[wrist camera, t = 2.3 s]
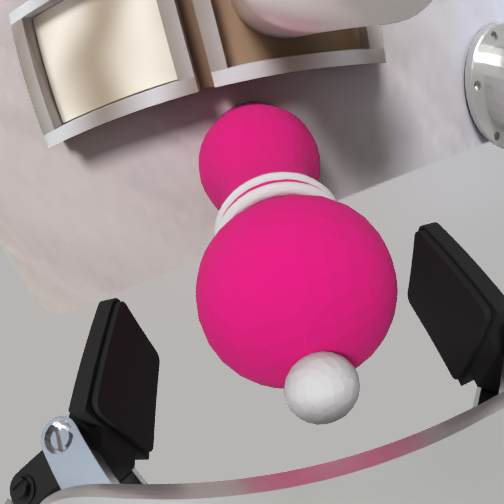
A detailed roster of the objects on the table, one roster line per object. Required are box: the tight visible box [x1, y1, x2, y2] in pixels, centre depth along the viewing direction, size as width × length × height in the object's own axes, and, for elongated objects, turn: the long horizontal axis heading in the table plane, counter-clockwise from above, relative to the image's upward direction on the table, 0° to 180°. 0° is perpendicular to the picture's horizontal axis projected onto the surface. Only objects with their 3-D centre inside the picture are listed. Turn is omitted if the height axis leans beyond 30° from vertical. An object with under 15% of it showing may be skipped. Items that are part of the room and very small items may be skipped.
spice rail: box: [9, 0, 386, 148], centre depth 15 cm, size 24×11×3 cm, turn 102°
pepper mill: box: [196, 103, 397, 424], centre depth 14 cm, size 7×7×20 cm
